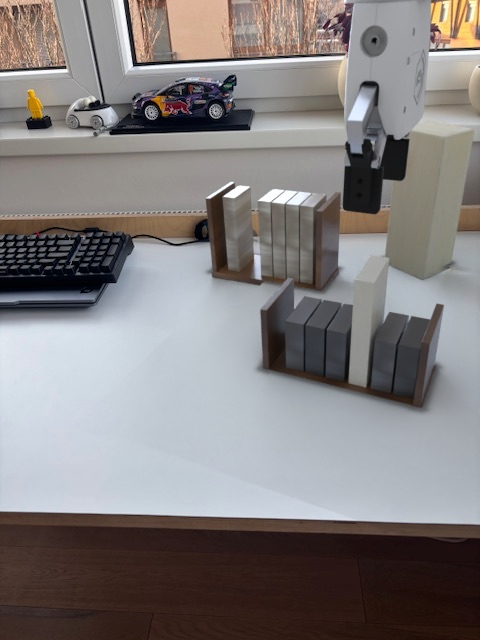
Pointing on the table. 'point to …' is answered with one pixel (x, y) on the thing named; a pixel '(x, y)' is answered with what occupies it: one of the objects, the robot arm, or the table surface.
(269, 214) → the brown rack
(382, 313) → the white book
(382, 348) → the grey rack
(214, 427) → the table surface
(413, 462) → the table surface
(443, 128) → the tall beige block
